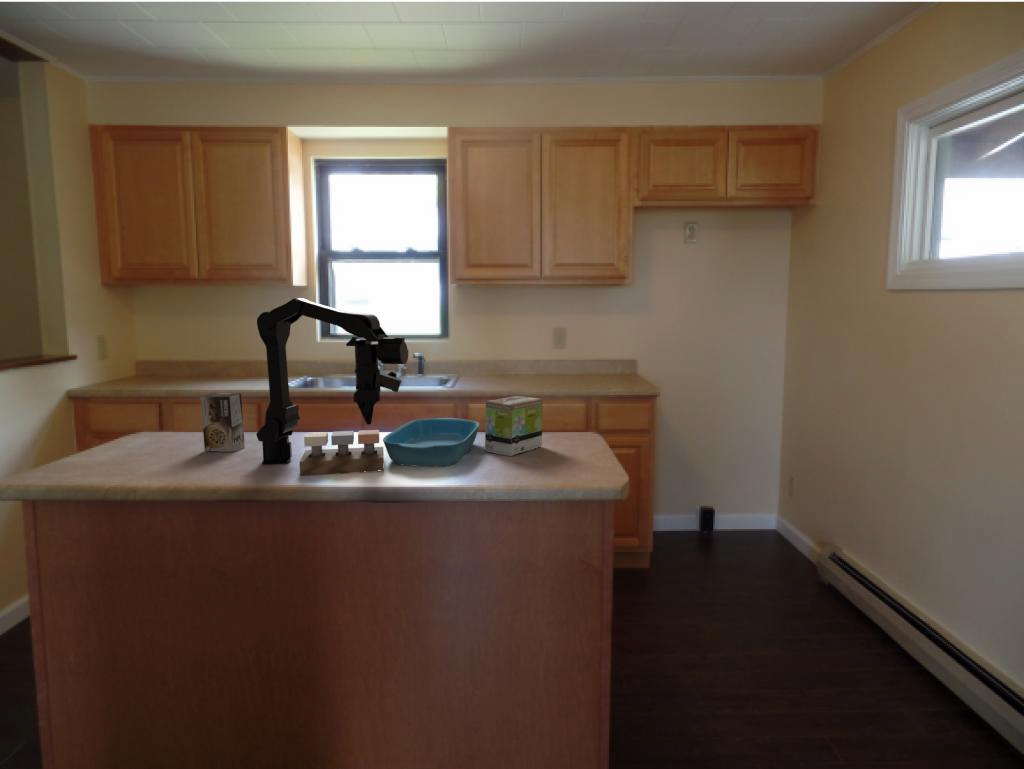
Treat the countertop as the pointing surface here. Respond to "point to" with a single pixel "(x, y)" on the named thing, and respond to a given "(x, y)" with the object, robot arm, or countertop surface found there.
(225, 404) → the coffee box
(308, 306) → the robot arm
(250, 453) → the countertop surface
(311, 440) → the cream key
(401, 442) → the casserole dish
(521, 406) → the tea box
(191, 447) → the countertop surface
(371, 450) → the terracotta key
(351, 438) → the slate key
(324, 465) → the key block
